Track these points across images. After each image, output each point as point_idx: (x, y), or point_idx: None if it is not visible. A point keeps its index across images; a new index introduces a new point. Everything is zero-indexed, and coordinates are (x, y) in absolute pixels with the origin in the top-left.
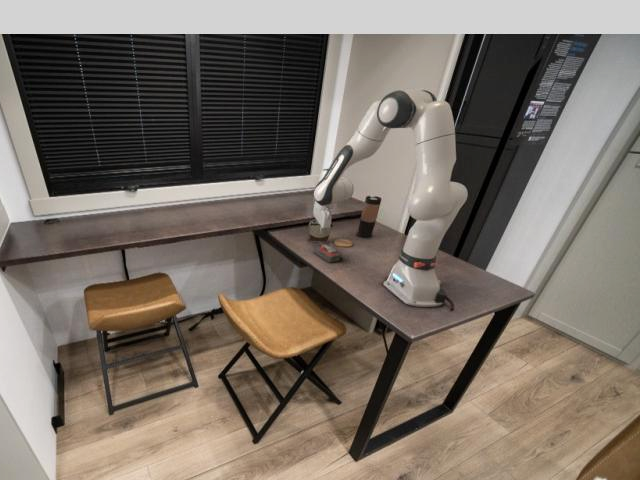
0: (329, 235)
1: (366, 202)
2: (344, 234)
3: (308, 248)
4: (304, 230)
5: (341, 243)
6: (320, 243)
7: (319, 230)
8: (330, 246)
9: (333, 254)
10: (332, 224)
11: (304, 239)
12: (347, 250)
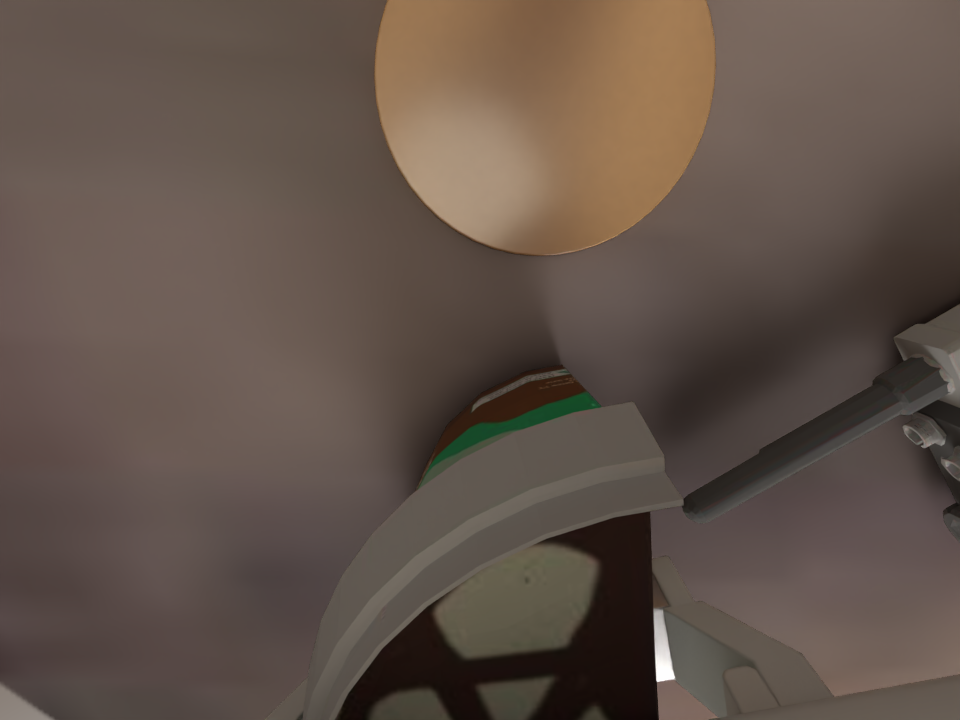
0: (586, 394)
1: None
2: (59, 17)
3: (818, 620)
4: (158, 679)
5: (597, 124)
6: (742, 499)
7: None
8: (957, 363)
9: None
10: (635, 493)
11: None
12: (851, 28)
